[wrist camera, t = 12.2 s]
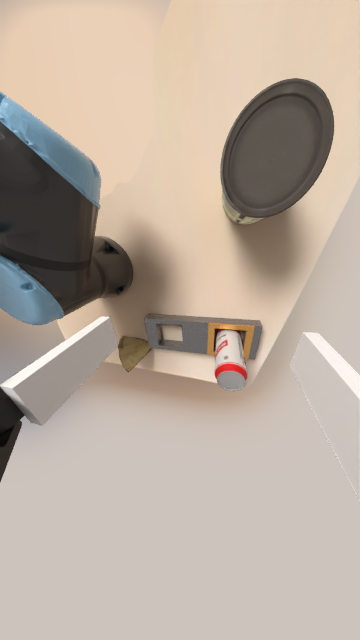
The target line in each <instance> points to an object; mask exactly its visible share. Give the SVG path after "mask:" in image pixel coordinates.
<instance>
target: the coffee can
mask: <svg viewBox="0 0 360 640" xmlns="http://www.w3.org/2000/svg"><path fill="white" fill-rule="evenodd" d="M333 135H334V116H333V111H332V108H331V105H330V102H329V99H328V98H327V96H326V94H325V93H324V91H323V90H322V89H321V88H320V87H319V86H317V85H316V84H315V83H313V82H311V81H308V80H304V79H298V78H293V79H287V80H283V81H280V82H277V83H275V84H273V85H271V86H269V87H267V88H266V89H264V90H263V91H261V92H260V93H259V94H258V95H256V96H255V97H254V98H253V99H252V100H251V101H250V102H249V103H248V104H247V105H246V106H245V108H244V109H243V110H242V112H241V113H240V115H239V116H238V117H237V119H236V120H235V122H234V124H233V126H232V128H231V130H230V132H229V134H228V137H227V139H226V142H225V145H224V149H223V153H222V159H221V184H222V204H223V208H224V210H225V212H226V214H227V216H228V217H229V218H230V219H231V220H232V221H234V222H236V223H238V224H243V225H244V224H252V223H255V222H258V221H259V220H261V219H263V218H266V217H269V216H273V215H276V214H278V213H281V212H283V211H285V210H286V209H288V208H290V207H291V206H292V205H294V204H295V203H296V202H297V201H299V200H300V199H301V198H302V197H303V196H304V195H305V194H306V193H307V192H308V190H309V189H310V188H311V187H312V186H313V184H314V183H315V181H316V180H317V178H318V177H319V175H320V173H321V172H322V169H323V167H324V165H325V163H326V161H327V158H328V155H329V152H330V149H331V145H332V140H333Z"/></svg>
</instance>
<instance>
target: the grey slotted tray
mask: <svg viewBox="0 0 360 640" xmlns="http://www.w3.org/2000/svg"><path fill="white" fill-rule="evenodd" d="M144 321H145V326H146V332H147V338H148V343H149V347H151V348H159V349H168V350H177V351H186V352H194V353H203V354H207V355H215V353H216V345H214V334H215V328H218V329H231V330H244V333H243V339H242V346H243V352H244V357H245V359H255V356H256V352H257V347H258V343H259V339H260V334H261V330H262V325H261V323H260V321H259V320H242V319H226V318H209V317H193V316H177V315H160V314H148V315H147V316H146V317H145V318H144ZM160 324H173V325H182V334H183V341H173V340H163V339H162V335H161V327H160Z"/></svg>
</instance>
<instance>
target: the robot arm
mask: <svg viewBox="0 0 360 640" xmlns="http://www.w3.org/2000/svg"><path fill="white" fill-rule="evenodd" d="M100 187H101V177H100V173H99V171H98V169H97V167H96V165H95V164H94V163H93V161H92V160H91V159H90V158H88V157H87V156H86V155H85V154H84V153H82V152H81V151H80V150H79V149H77V148H76V147H75V146H74V145H72V144H71V143H70V142H68V141H67V140H66V139H64V138H63V137H62V136H61V135H59V134H58V133H57V132H55V131H54V130H52V129H51V128H50V127H49V126H47V125H46V124H44V123H43V122H42V121H40V120H39V119H38V118H37V117H35V116H34V115H32V114H31V113H30V112H28V111H27V110H26V109H24V108H23V107H22V106H20V105H19V104H17V103H16V102H15V101H13V100H12V99H10V98H8V97H7V96H6V95H4V94H3V93H2V92H0V308H1V309H2V310H4V311H5V312H7V313H8V314H9V315H11V316H13V317H14V318H16V319H18V320H20V321H22V322H24V323H27V324H32V325H43V324H47V323H49V322H52V321H54V320H56V319H61V318H63V317H64V316H65V315H67V314H69V313H71V312H73V311H75V310H77V309H79V308H81V307H82V306H84V305H86V304H88V303H90V302H92V301H94V300H96V299H98V298H112V297H116V296H119V295H121V294H122V293H124V292H125V291H127V289H128V288H129V287H130V285H131V282H132V277H133V272H132V266H131V262H130V260H129V258H128V256H127V254H126V252H125V251H124V250H123V248H122V247H121V246H120V245H119V244H117V243H116V242H115V241H113V240H111V239H109V238H107V237H102V236H95V229H96V223H97V216H98V210H99V209H100V204H99V200H100ZM117 346H118V343H117V340H116V336H115V332H114V329H113V325H112V322H111V318H110V317H104V316H101V317H100V318H98V319H97V320H95V321H94V322H92V323H91V324H89V325H88V326H87V327H85V328H84V329H82V330H81V331H79V332H78V333H76V334H75V335H73V336H72V337H70V338H69V339H67V340H66V341H64V342H63V343H61V344H60V345H58V346H57V347H55V348H54V349H52V350H51V351H49V352H48V353H46V354H44V355H43V356H42V357H40V358H38V359H37V360H36V361H34V362H32V363H31V364H30V365H29V366H27V367H25V368H24V369H22V370H20V371H19V372H18V373H16V374H15V375H13V376H12V377H10V378H9V379H7V380H6V381H4V382H3V383H1V384H0V482H1V479H2V476H3V474H4V471H5V468H6V465H7V463H8V460H9V458H10V455H11V453H12V450H13V447H14V445H15V441H16V439H17V437H18V434H19V431H20V429H21V426H22V422H21V421H20V419H21V418H22V417H23V416H26V417H27V419H28V420H29V421H30V422H31V423H35V424H38V425H41V426H42V425H44V424H45V422H46V421H47V420H48V419H49V418H50V417H51V416H52V415H53V414H54V413H55V412H56V411H57V410H58V409H59V408H60V407H61V406H62V404H63V403H64V402H65V401H66V400H67V399H68V398H69V397H70V396H71V395H72V394H73V393H74V392H75V391H76V390H77V388H78V387H79V386H80V385H81V384H82V383H83V382H84V381H85V380H86V379H87V378H88V377H89V376H90V375H91V374H92V373H93V372H94V370H95V369H96V368H97V367H98V366H99V365H100V364H101V363H102V362H103V361H104V360H105V359H106V358H107V357H108V356H109V355H110V354H111V352H112V351H113V350H114V349H115V348H116V347H117ZM290 368H291V370H292V372H293V374H294V376H295V378H296V380H297V382H298V384H299V385H300V387H301V389H302V391H303V393H304V395H305V397H306V399H307V401H308V403H309V405H310V407H311V408H312V411H313V413H314V415H315V416H316V418H317V420H318V422H319V424H320V426H321V428H322V430H323V432H324V434H325V436H326V438H327V440H328V442H329V444H330V446H331V447H332V449H333V451H334V453H335V455H336V457H337V459H338V461H339V463H340V465H341V467H342V469H343V471H344V473H345V475H346V476H347V478H348V480H349V482H350V484H351V486H352V488H353V490H354V492H355V494H356V496H357V498H358V500H359V502H360V375H359V374H358V373H357V372H356V371H355V370H354V369H353V368H352V367H351V366H350V365H349V364H348V363H347V362H346V361H345V360H344V359H343V358H342V357H341V356H340V355H339V354H338V353H337V352H336V351H335V350H334V349H333V348H332V347H331V346H330V345H329V344H328V343H327V342H326V341H325V340H324V339H323V338H322V337H321V336H320V335H319V334H318V333H309V332H303V333H302V336H301V339H300V341H299V344H298V346H297V349H296V351H295V354H294V357H293V359H292V362H291V364H290Z"/></svg>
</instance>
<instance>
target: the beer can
mask: <svg viewBox="0 0 360 640" xmlns="http://www.w3.org/2000/svg"><path fill="white" fill-rule="evenodd" d="M215 377H216V379H217V382H218V384H219V385H220V387H222V388H223V389H225V390H229V391H237V390H240V389H242V388H243V387H244V386H245V382H246V379H247V368H246V363H245V357H244V352H243V346H242V341H241V336H240V333H239V332H238V330H231V329H220V330H219V331H218V333H217V335H216V353H215Z"/></svg>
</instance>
